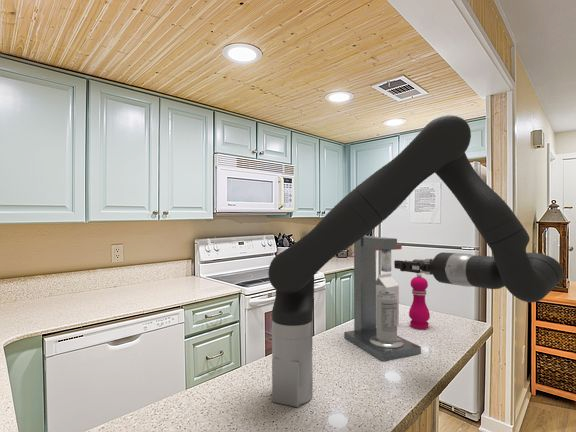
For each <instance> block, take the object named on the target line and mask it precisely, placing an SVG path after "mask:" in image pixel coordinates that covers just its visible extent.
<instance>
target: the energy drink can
mask: <svg viewBox="0 0 576 432" xmlns="http://www.w3.org/2000/svg"><path fill="white" fill-rule="evenodd" d="M376 327H377V338H378V339H379V341H380V342H382V343H386V344H392V343H395V340H397V336H398V325H397V297H396V296H395V292H393V291H387V290H382V291H379V294H378V295H377V325H376Z"/></svg>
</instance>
